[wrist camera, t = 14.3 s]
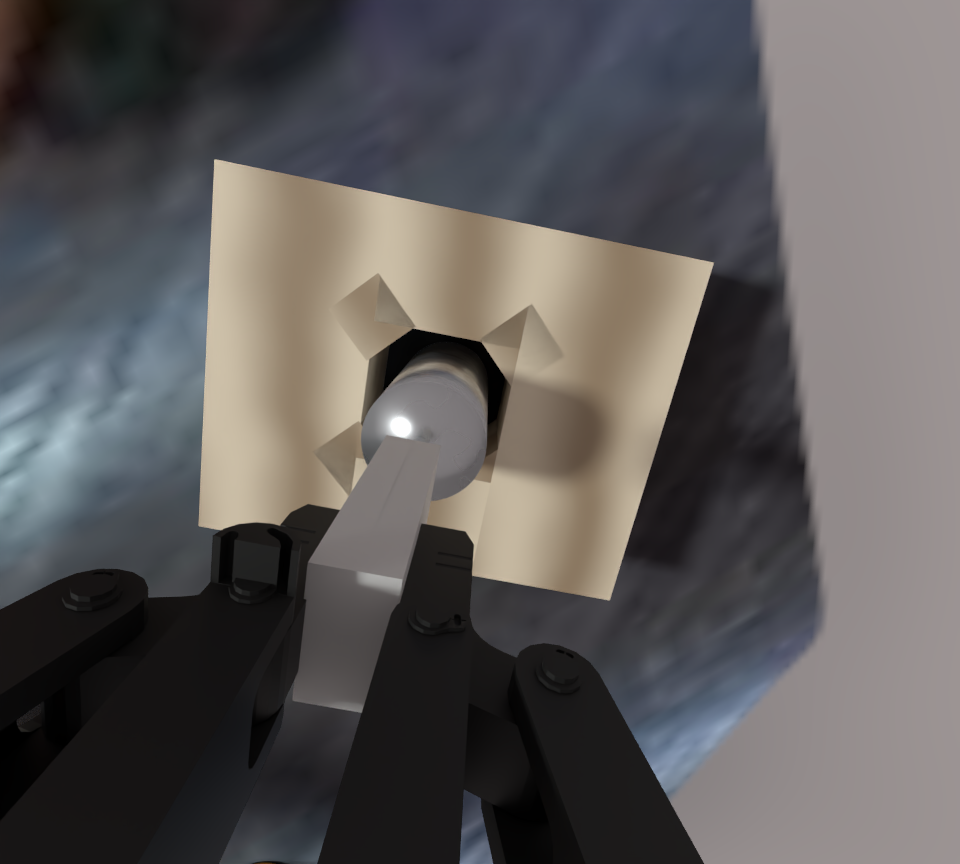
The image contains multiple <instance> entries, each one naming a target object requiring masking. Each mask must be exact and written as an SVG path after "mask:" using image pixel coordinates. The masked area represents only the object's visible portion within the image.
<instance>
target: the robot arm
mask: <svg viewBox="0 0 960 864" xmlns="http://www.w3.org/2000/svg"><path fill="white" fill-rule="evenodd" d="M440 448H441V445H436V444H431V443H426V442H421V441H415V440H410V439H405V438H400V437H394V436H389V435H386V437H385V438H384V440H383V442H382V443H381V445H380V447H379V448H378V450H377V451H376V453H375V455H374V456H373V458H372V459H371V461H370V463H369V464H368V466H367V468H366V469H365V471H364V472H363V474H362V476H361V477H360V479H359V480H358V482H357V484H356V485H355V487H354V489H353V490H352V492H351V493H350V495H349V497H348V498H347V500H346V502H345V503H344V505H343V506H342V508H341V510H338V509H332V508H327V507H322V506H316V505H311V504H307V505H305V506H303V507H301V508H299V509H297V510H295V511H292V512H290V513H289V515H288V516H287V517H286V518H285V520H284V521H283V522H282V523H281V525H280V526H279V525H276V524H271V523H259V522H254V523H244V524H237V525H234V526H231V527H228V528H224V529H223V530H221V531H219V532H218V533H216V534H215V535H213V543H212V562H211V582H210V583H209V584H208V586H207V587H206V588H205V589H204V590H203V591H202V592H201V594H200V595H195V596H184V597H157V598H148V587H147V584H146V582H145V580H144V579H143V578H142V577H140V576H138V575H137V574H135V573H133V572H129V571H124V570H119V569H96V570H91V571H86V572H81V573H76V574H73V575H71V576H68V577H66V578H63V579H60V580H58V581H56V582H54V583H52V584H50V585H48V586H46V587H44V588H42V589H40V590H38V591H36V592H34V593H32V594H30V595H28V596H26V597H24V598H22V599H20V600H18V601H16V602H14V603H12V604H10V605H9V606H7V607H5V608H3V609H1V610H0V864H219V862H220V860H221V858H222V856H223V853H224V851H225V849H226V847H227V845H228V842H229V840H230V838H231V836H232V833H233V831H234V829H235V827H236V825H237V822H238V820H239V818H240V816H241V814H242V811H243V809H244V807H245V805H246V803H247V800H248V798H249V796H250V794H251V792H252V789H253V787H254V785H255V783H256V781H257V778H258V776H259V774H260V772H261V770H262V767H263V765H264V763H265V761H266V758H267V756H268V754H269V752H270V750H271V747H272V745H273V743H274V741H275V739H276V736H277V734H278V732H279V730H280V728H281V723H282V718H283V712H284V703H285V698H286V696H287V694H288V692H289V690H290V688H291V685H292V683H293V681H294V679H295V682H294V691H293V699H292V701H296V702H302V703H308V704H314V705H320V706H325V707H331V708H337V709H343V710H349V711H355V712H360V713H362V714H361V717H360V721H359V724H358V727H357V731H356V734H355V738H354V741H353V744H352V748H351V751H350V755H349V758H348V761H347V765H346V768H345V772H344V775H343V778H342V782H341V785H340V788H339V792H338V795H337V799H336V802H335V805H334V809H333V812H332V816H331V819H330V822H329V826H328V829H327V833H326V836H325V839H324V843H323V846H322V850H321V853H320V856H319V860H318V863H317V864H459V861H460V844H461V826H462V809H463V792H464V789H465V790H466V791H468V792H470V793H472V794H474V795H476V796H478V797H480V798H481V809H482V813H483V818H484V823H485V827H486V832H487V836H488V841H489V845H490V850H491V855H492V859H493V864H704V863H703V861H702V859H701V857H700V855H699V854H698V852H697V850H696V848H695V846H694V845H693V843H692V841H691V839H690V837H689V836H688V834H687V832H686V830H685V829H684V827H683V825H682V823H681V821H680V819H679V818H678V816H677V814H676V812H675V810H674V808H673V807H672V805H671V803H670V801H669V799H668V798H667V796H666V794H665V792H664V790H663V789H662V787H661V785H660V783H659V781H658V780H657V778H656V776H655V774H654V772H653V771H652V769H651V767H650V765H649V763H648V762H647V760H646V758H645V756H644V754H643V752H642V751H641V749H640V747H639V745H638V743H637V742H636V740H635V738H634V736H633V734H632V733H631V731H630V729H629V727H628V725H627V724H626V722H625V720H624V718H623V716H622V715H621V713H620V711H619V709H618V707H617V706H616V704H615V702H614V700H613V698H612V697H611V695H610V693H609V691H608V689H607V687H606V686H605V684H604V682H603V680H602V678H601V677H600V675H599V673H598V672H597V671H596V670H595V668H594V667H593V666H592V665H591V663H590V662H589V661H587V660H586V659H585V658H583V657H582V656H580V655H579V654H578V653H576V652H574V651H572V650H569V649H567V648H564V647H562V646H559V645H552V644H545V643H543V644H537V645H530V646H529V647H527V648H525V649H524V650H522V651H521V652H520V653H519V655H518V657H517V658H516V657H514V656H511V655H509V654H507V653H504V652H502V651H500V650H498V649H496V648H494V647H492V646H491V645H489V644H488V643H487V642H485V641H484V640H483V639H481V638H480V636H479V635H478V634H477V633H476V632H475V631H474V629H473V627H472V622H471V618H470V615H469V613H470V598H471V583H472V568H473V552H474V544H473V542H472V541H471V539H470V538H469V536H468V534H467V533H466V531H460V530H455V529H450V528H444V527H439V526H434V525H428V524H427V519H428V513H429V508H430V502H431V497H432V491H433V486H434V480H435V475H436V470H437V464H438V459H439V453H440ZM38 704H40V705H41V714H39V715H38V716H36V717H35V718H34V719H32V720H31V721H29V722H27V723H25V724H23V725H21V726H19V727H18V726H17V723H16V720H17V719H18V718H20V717H21V716H23V715H24V714H26V713H27V712H28V711H30V710H31V709H33V708H34V707H35V706H37V705H38Z"/></svg>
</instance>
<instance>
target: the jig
mask: <svg viewBox="0 0 960 864" xmlns="http://www.w3.org/2000/svg"><path fill="white" fill-rule="evenodd" d="M713 264H714V263H712V262H708V261H703V260H698V259H693V258H688V257H684V256H679V255H674V254H669V253H664V252H659V251H655V250H650V249H645V248H640V247H635V246H630V245H626V244H621V243H616V242H611V241H606V240H602V239H597V238H592V237H587V236H582V235H577V234H573V233H568V232H563V231H558V230H553V229H549V228H544V227H539V226H534V225H529V224H524V223H520V222H515V221H510V220H505V219H500V218H495V217H491V216H486V215H481V214H476V213H471V212H467V211H462V210H457V209H452V208H447V207H442V206H438V205H433V204H428V203H423V202H418V201H413V200H409V199H404V198H399V197H394V196H389V195H385V194H380V193H375V192H370V191H365V190H360V189H356V188H351V187H346V186H341V185H336V184H331V183H327V182H322V181H317V180H312V179H307V178H303V177H298V176H293V175H288V174H283V173H278V172H274V171H269V170H264V169H259V168H254V167H249V166H245V165H240V164H235V163H230V162H225V161H221V160H216V159H215V160H214V183H213V206H212V229H211V252H210V275H209V299H208V322H207V345H206V368H205V391H204V414H203V437H202V460H201V484H200V507H199V526H200V527H206V528H212V529H217V530H223V529H224V528H228V527H231V526H234V525H237V524H244V523H254V522H259V523H271V524H276V525H279V526H280V525H281V523H282V522H283V521H284V520H285V518H286V517H287V516H288V515H289V513H290V512H292V511H295V510H297V509H299V508H301V507H303V506H305V505H307V504H311V505H316V506H322V507H327V508H332V509H338V510H341V508H342V506H343V505H344V503H345V502H346V500H347V498H348V497H349V495H350V493H351V492H352V490H353V489H354V487H355V485H356V484H357V482H358V480H359V479H360V477H361V476H362V474H363V472H364V471H365V469H366V468H367V464H366V462H365V459H364V456H363V452H362V448H361V431H362V426H363V423H364V420H365V417H366V415H367V413H368V411H369V410H370V408H371V407H372V405H373V404H374V403H375V401H376V400H377V399H378V398H379V397H380V396H381V394H382V393H383V387H384V381H385V374H386V367H387V360H388V353H389V346H390V344H391V343H393V342H394V341H396V340H397V339H398V338H400V337H401V336H403V335H404V334H406V333H407V332H409V331H410V330H411V329H413V328H414V329H419V330H424V331H429V332H434V333H439V334H444V335H449V336H454V337H459V338H464V339H469V340H474V341H479V342H482V344H483V345H484V347H485V348H486V350H487V351H488V352H489V354H490V355H491V357H492V358H493V360H494V361H495V363H496V364H497V366H498V367H499V369H500V370H501V372H502V373H503V375H504V376H505V382H504V386H503V391H502V396H501V401H500V405H499V410H498V415H497V419H496V420H494V421H493V422H491V423H490V424H488V425H487V448H486V455H485V459H484V462H483V465H482V467H481V469H480V471H479V473H478V474H477V476H476V477H475V479H474V480H473V481H472V482H471V483H470V484H469V485H468V486H467V487H466V488H464V489H463V490H462V491H460V492H459V493H457V494H455V495H453V496H451V497H448V498H445V499H441V500H437V501H431V502H430V508H429V513H428V519H427V524H428V525H434V526H439V527H444V528H450V529H455V530H460V531H466V533H467V534H468V536H469V538H470V539H471V541H472V542H473V544H474V552H473V568H472V576H478V577H483V578H489V579H494V580H500V581H505V582H511V583H516V584H522V585H528V586H533V587H539V588H544V589H550V590H555V591H561V592H566V593H572V594H577V595H583V596H588V597H594V598H600V599H605V600H610V598H611V594H612V591H613V588H614V585H615V581H616V578H617V575H618V572H619V568H620V565H621V562H622V559H623V555H624V552H625V549H626V546H627V543H628V539H629V536H630V533H631V530H632V526H633V523H634V520H635V517H636V513H637V510H638V507H639V504H640V500H641V497H642V494H643V491H644V487H645V484H646V481H647V478H648V475H649V471H650V468H651V465H652V462H653V458H654V455H655V452H656V449H657V445H658V442H659V439H660V436H661V432H662V429H663V426H664V423H665V420H666V416H667V413H668V410H669V407H670V403H671V400H672V397H673V394H674V390H675V387H676V384H677V381H678V377H679V374H680V371H681V368H682V364H683V361H684V358H685V355H686V352H687V348H688V345H689V342H690V339H691V335H692V332H693V329H694V326H695V322H696V319H697V316H698V313H699V309H700V306H701V303H702V300H703V296H704V293H705V290H706V287H707V284H708V280H709V277H710V274H711V271H712V267H713Z"/></svg>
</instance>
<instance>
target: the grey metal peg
mask: <svg viewBox="0 0 960 864" xmlns="http://www.w3.org/2000/svg"><path fill="white" fill-rule="evenodd" d="M487 416H488V374H487V371H486V368H485V366H484V364H483V362H482V360H481V359H480V358H479V356H478V355H477V354H476V353H475V352H474V351H472V350H471V349H470V348H468V347H466V346H464V345H462V344H459V343H455V342H449V341H442V342H436V343H432V344H430V345H428V346H426V347H424V348H422V349H421V350H420V351H419V352H417V353H416V355H415V356H414V357H413V358H412V359H411V360H410V361H409V363H408V364H407V365H406V366H405V367H404V369H403V370H402V371H401V372H400V373H399V374H398V376H397V377H396V378H395V379H394V380H393V381H392V383H391V384H390V385H389V386H388V387H387V389H386V390H385V391H384V392H383V393H382V394H381V396H380V397H379V398H378V399H377V400H376V401H375V403H374V404H373V405H372V407H371V408H370V410H369V411H368V413H367V415H366V417H365V420H364V423H363V426H362V431H361V448H362V452H363V456H364V459H365V462H366V464H367V466H368V464H369V463H370V461H371V459H372V458H373V456H374V455H375V453H376V451H377V450H378V448H379V447H380V445H381V443H382V442H383V440H384V438H385V437H386V435H389V436H394V437H400V438H405V439H410V440H415V441H421V442H426V443H431V444H436V445H441V448H440V453H439V459H438V464H437V470H436V475H435V480H434V486H433V491H432V497H431V501H437V500H441V499H445V498H448V497H451V496H453V495H455V494H457V493H459V492H460V491H462V490H463V489H464V488H466V487H467V486H468V485H469V484H470V483H471V482H472V481H473V480H474V479H475V477H476V476H477V474H478V473H479V471H480V469H481V467H482V465H483V462H484V459H485V455H486V448H487Z"/></svg>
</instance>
